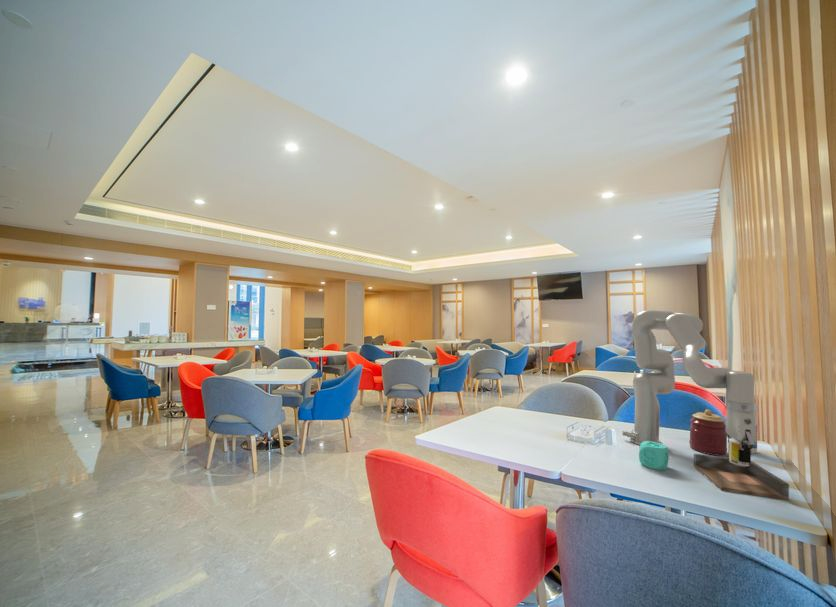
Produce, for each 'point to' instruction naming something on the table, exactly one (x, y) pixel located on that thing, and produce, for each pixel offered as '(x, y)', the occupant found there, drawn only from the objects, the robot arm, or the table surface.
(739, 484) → the wooden tray
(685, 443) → the table surface
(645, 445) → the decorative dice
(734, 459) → the supplement bottle
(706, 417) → the canister
